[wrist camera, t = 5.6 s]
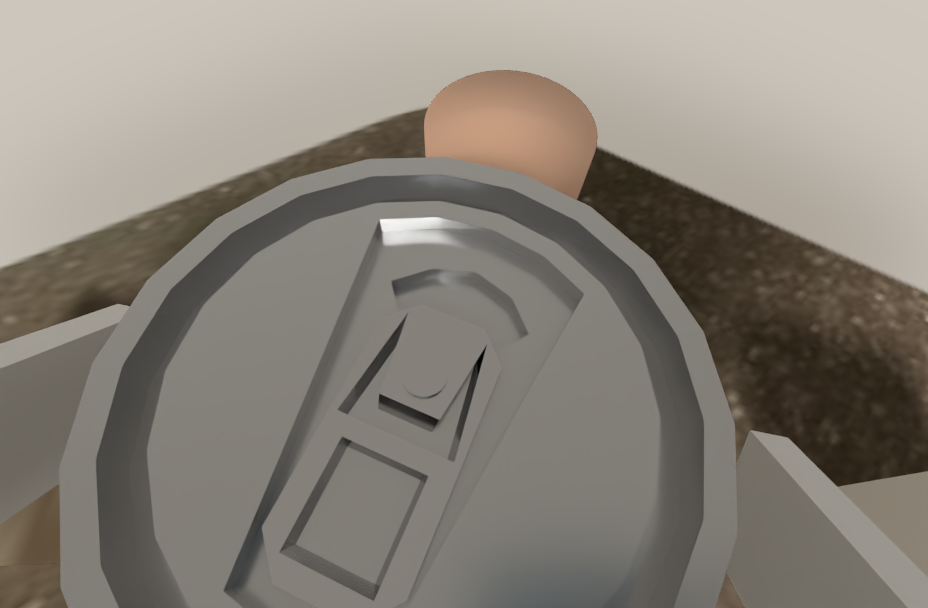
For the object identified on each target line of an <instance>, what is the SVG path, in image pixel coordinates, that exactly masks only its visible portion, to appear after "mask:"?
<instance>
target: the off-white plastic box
mask: <svg viewBox="0 0 928 608" xmlns="http://www.w3.org/2000/svg"><path fill="white" fill-rule="evenodd" d="M838 488H839V489H840V490H841V491H842V492H843V493H844V494H845V495H846V496H847V497H848V498H849V499H850V500H851V501H852V502H853V503H854V504H855V505H856V506H857V507H858V508H859V509H860V510H861V511H862V512H863V513H864V514H865V515H866V516H867V517H868V518H869V519H870V520H871V521H872V522H873V523H874V524H875V525H876V526H877V527H878V528H879V529H880V530H881V531H882V532H883V533H884V534H885V535H886V536H887V537H888V538H889V539H890V540H891V541H892V542H893V543H894V544H895V545H896V546H897V547H898V548H899V549H900V550H901V551H902V552H903V553H904V554H905V555H906V556H907V557H908V558H909V559H910V560H911V561H912V562H913V563H914V564H915V565H916V566H917V567H918V568H919V569H920V570H921V571H922V572H923V573H924V574H925V575H926V576H927V577H928V471H926V472H920V473H914V474H909V475H903V476H897V477H891V478H885V479H879V480H874V481H868V482H862V483H856V484H850V485H844V486H839V487H838Z"/></svg>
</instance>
